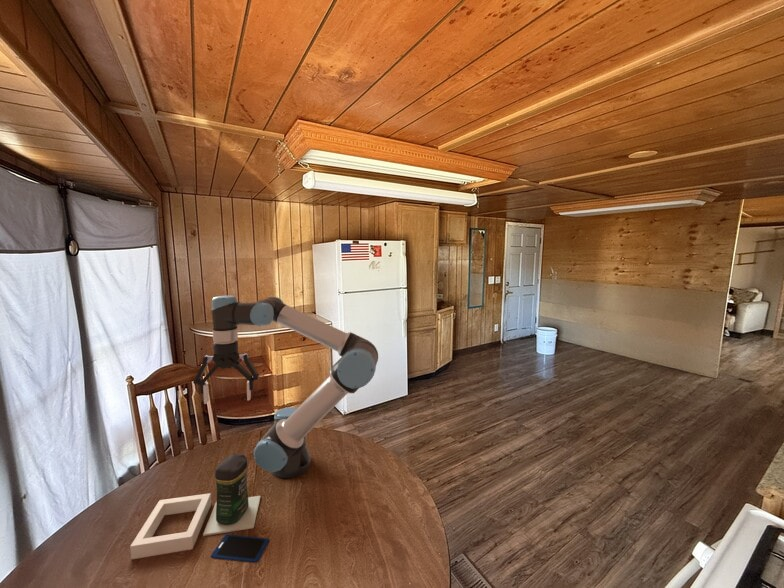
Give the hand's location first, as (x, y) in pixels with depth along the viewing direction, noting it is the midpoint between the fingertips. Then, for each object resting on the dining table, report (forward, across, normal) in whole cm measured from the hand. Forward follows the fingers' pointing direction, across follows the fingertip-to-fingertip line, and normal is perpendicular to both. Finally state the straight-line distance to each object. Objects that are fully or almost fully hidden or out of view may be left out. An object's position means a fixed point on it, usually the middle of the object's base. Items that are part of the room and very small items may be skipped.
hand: (228, 400), depth 112 cm
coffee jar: (+32, -4, +14) cm, 35 cm away
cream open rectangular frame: (+33, +12, +16) cm, 38 cm away
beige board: (+33, -4, +14) cm, 36 cm away
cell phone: (+33, -8, +27) cm, 44 cm away
